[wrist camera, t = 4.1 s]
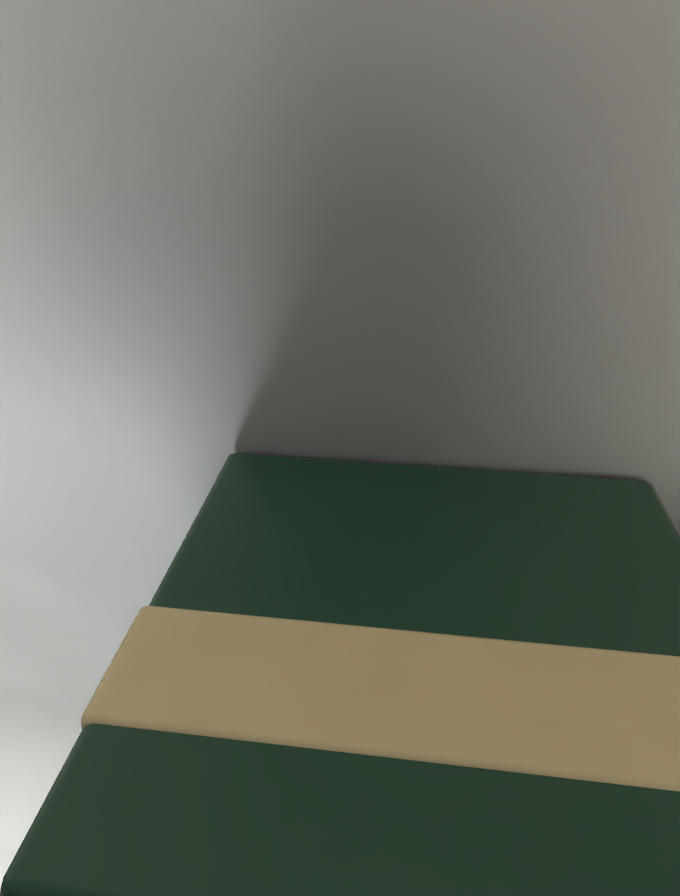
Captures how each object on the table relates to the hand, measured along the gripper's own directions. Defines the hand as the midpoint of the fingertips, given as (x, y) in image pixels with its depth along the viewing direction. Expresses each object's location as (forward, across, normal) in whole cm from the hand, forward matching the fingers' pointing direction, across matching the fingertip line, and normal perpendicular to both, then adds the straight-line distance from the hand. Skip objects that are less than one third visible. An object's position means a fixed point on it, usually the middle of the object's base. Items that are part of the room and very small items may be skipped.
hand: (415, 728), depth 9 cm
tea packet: (+1, 0, 0) cm, 1 cm away
